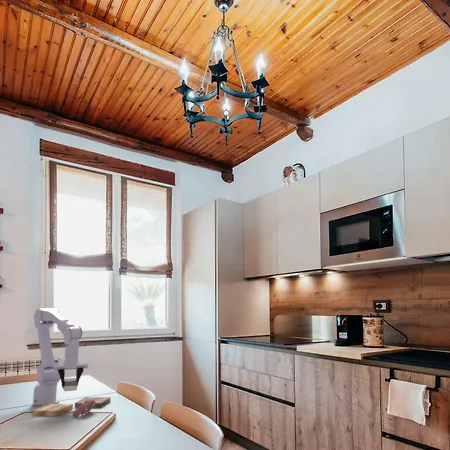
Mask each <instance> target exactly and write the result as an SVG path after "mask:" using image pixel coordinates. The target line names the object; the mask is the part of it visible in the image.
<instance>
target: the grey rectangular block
mask: <svg viewBox="0 0 450 450" xmlns="http://www.w3.org/2000/svg"><path fill="white" fill-rule="evenodd" d="M77 387H78V386H77V380H76V377H70V378H69V377H68V378H64V388H62V390H63V392H73V391H75V392H76V391H77Z"/></svg>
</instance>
